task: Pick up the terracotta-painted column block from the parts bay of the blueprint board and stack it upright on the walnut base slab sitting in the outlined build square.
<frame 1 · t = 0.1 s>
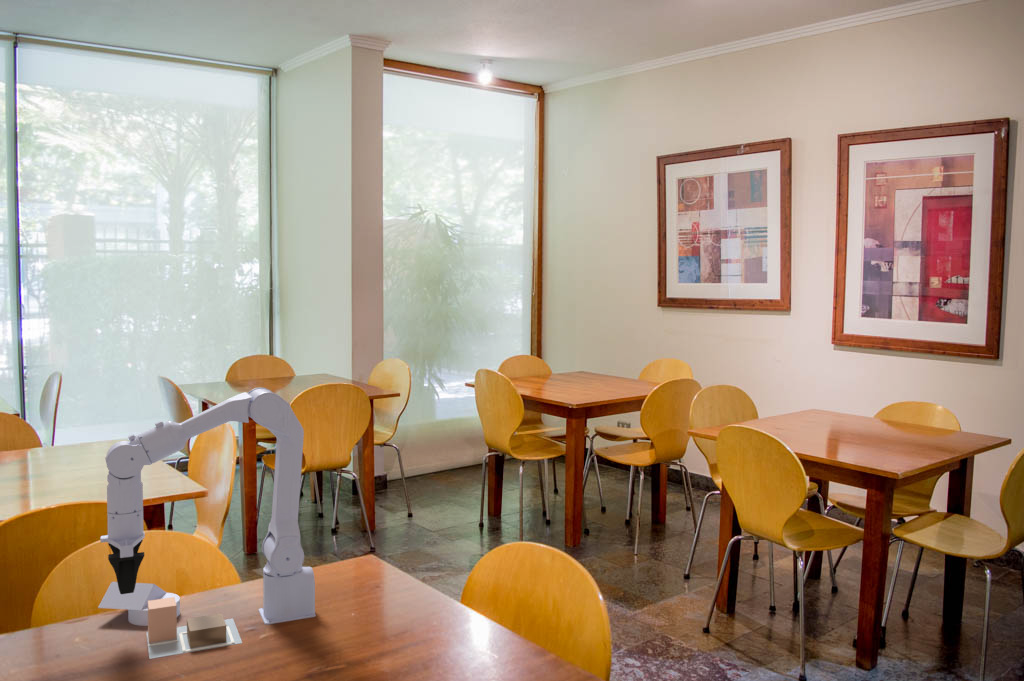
hand: (126, 585, 144), 10 cm above the table, tool pointing down, fingers open, 7 cm apart
column block: (162, 635, 146), resting on blueprint board
wedge on round base: (144, 618, 155), on the table
blueprint board: (193, 639, 145), on the table
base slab: (206, 638, 145), resting on blueprint board
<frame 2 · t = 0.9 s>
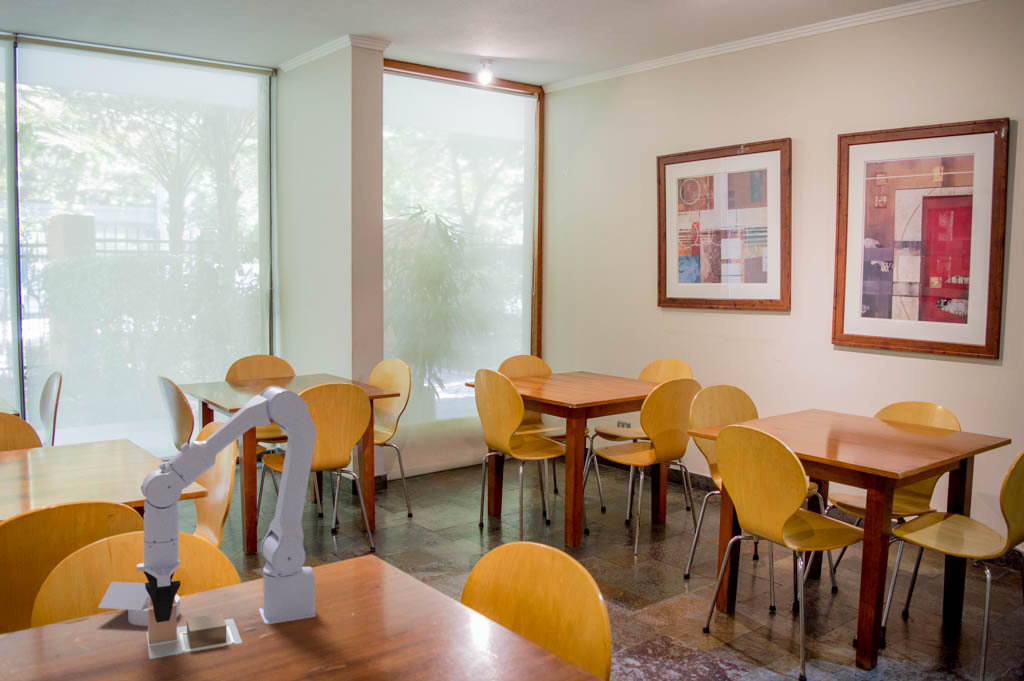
hand: (161, 613, 145), 5 cm above the table, tool pointing down, fingers open, 7 cm apart
nothing on the table moved.
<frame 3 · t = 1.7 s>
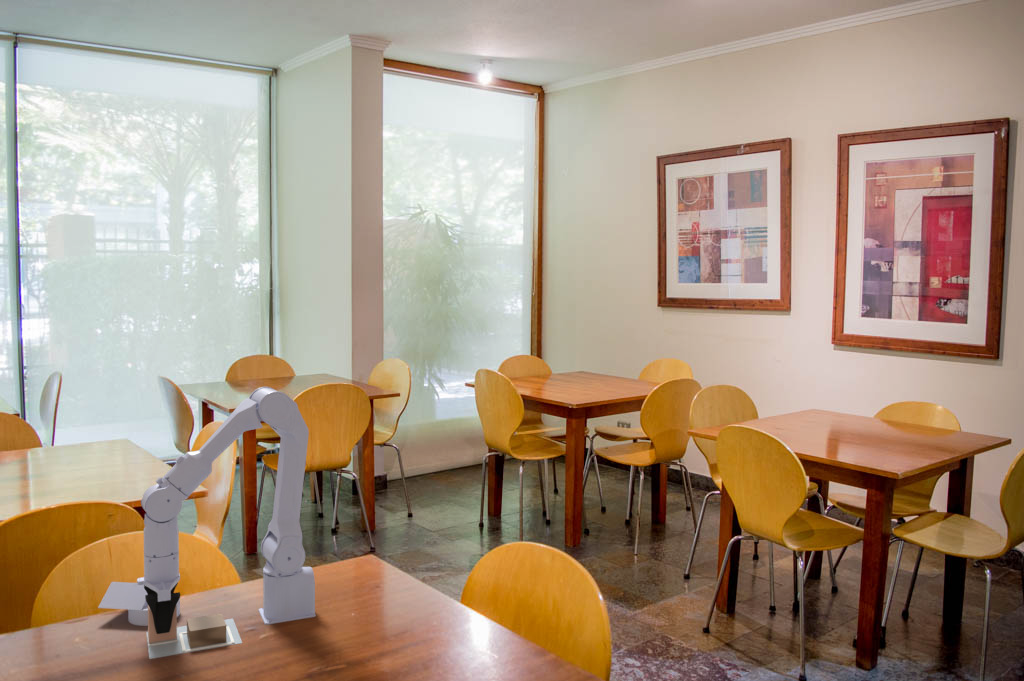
hand: (162, 627, 145), 2 cm above the table, tool pointing down, fingers closed on column block, 4 cm apart
column block: (162, 635, 146), resting on blueprint board, touching gripper
everything else where it was.
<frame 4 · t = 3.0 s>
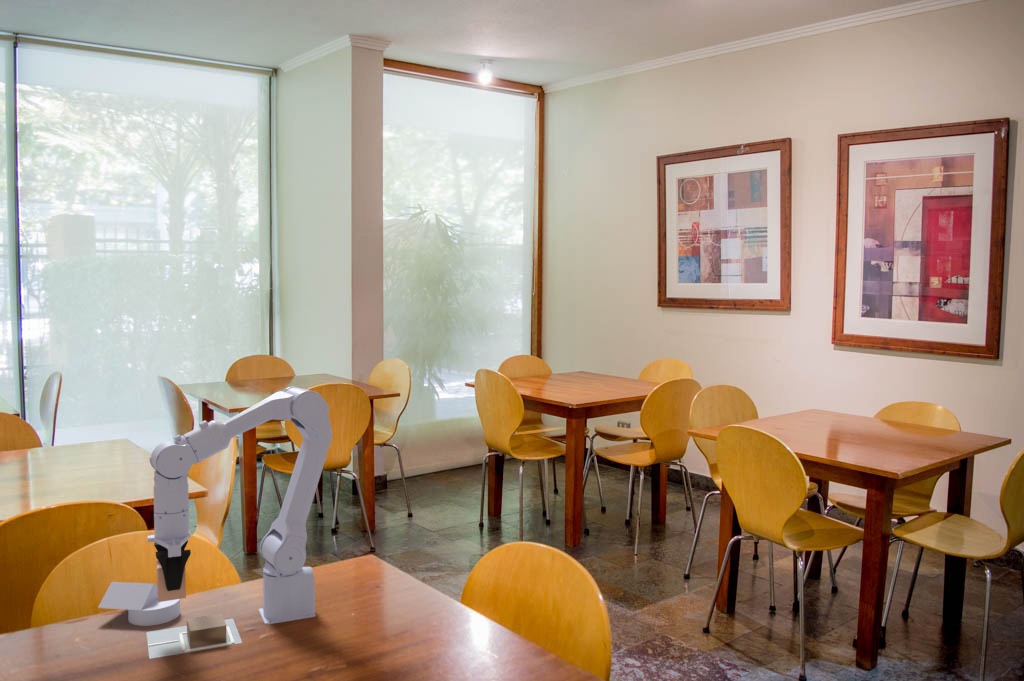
hand: (172, 584, 145), 10 cm above the table, tool pointing down, fingers closed on column block, 4 cm apart
column block: (171, 595, 145), point 8 cm above the table, touching gripper
everything else where it was.
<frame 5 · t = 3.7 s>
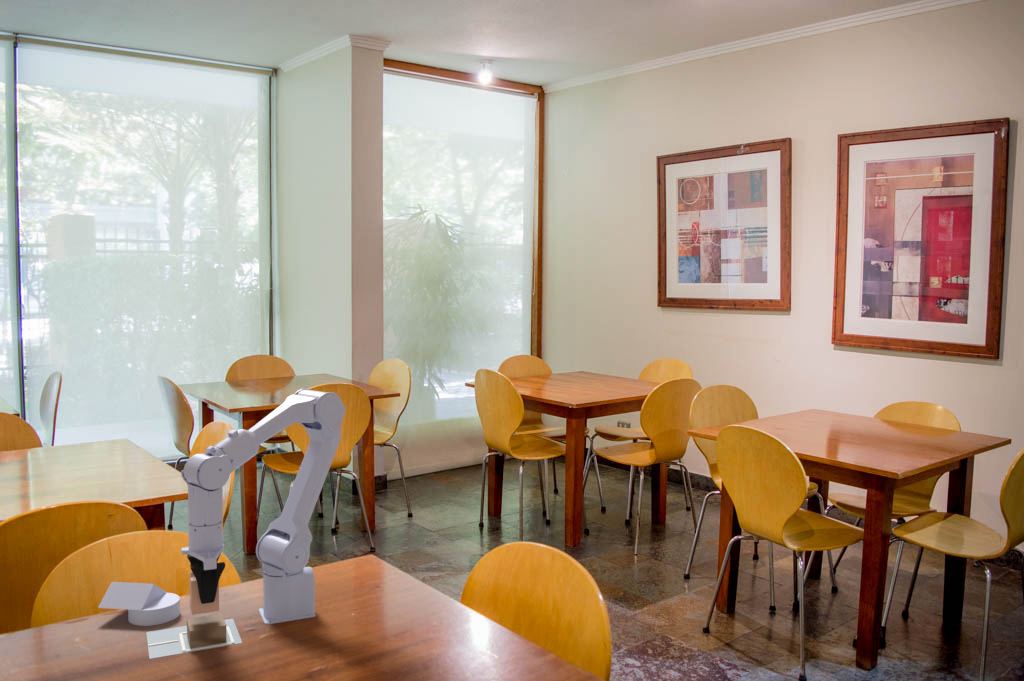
hand: (206, 597, 144), 8 cm above the table, tool pointing down, fingers closed on column block, 4 cm apart
column block: (204, 608, 144), point 6 cm above the table, touching gripper
everything else where it was.
when the fingers open (6 cm above the table, at t = 4.4 s): column block drops 1 cm, resting on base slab.
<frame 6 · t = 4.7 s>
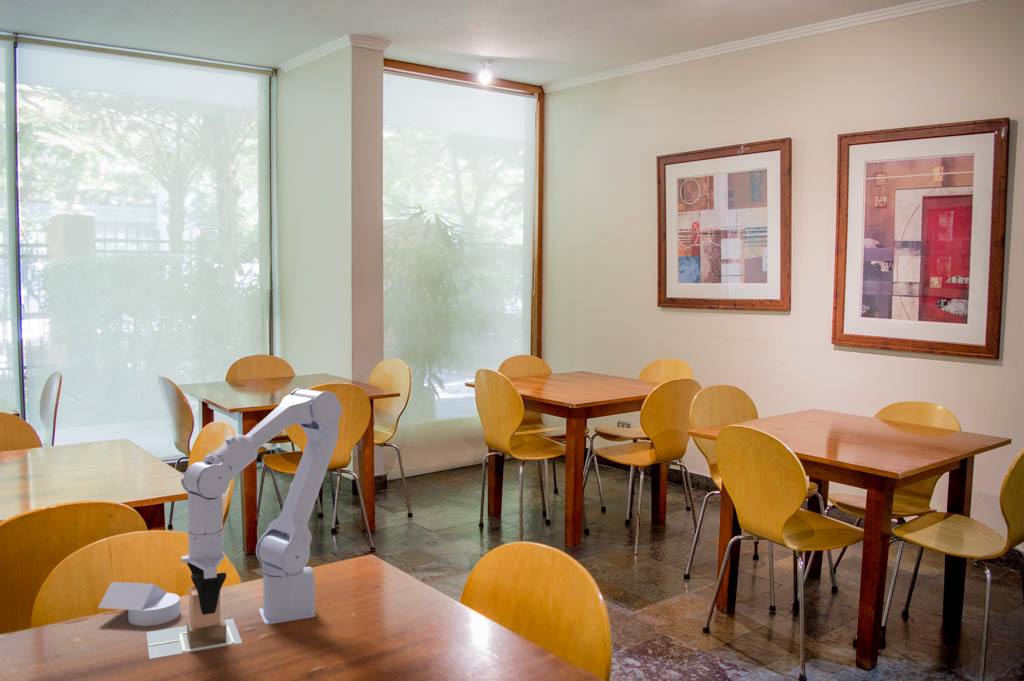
hand: (206, 605, 144), 6 cm above the table, tool pointing down, fingers open, 7 cm apart
column block: (204, 622, 144), point 3 cm above the table, touching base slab
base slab: (206, 638, 145), resting on blueprint board, touching column block
everything else where it was.
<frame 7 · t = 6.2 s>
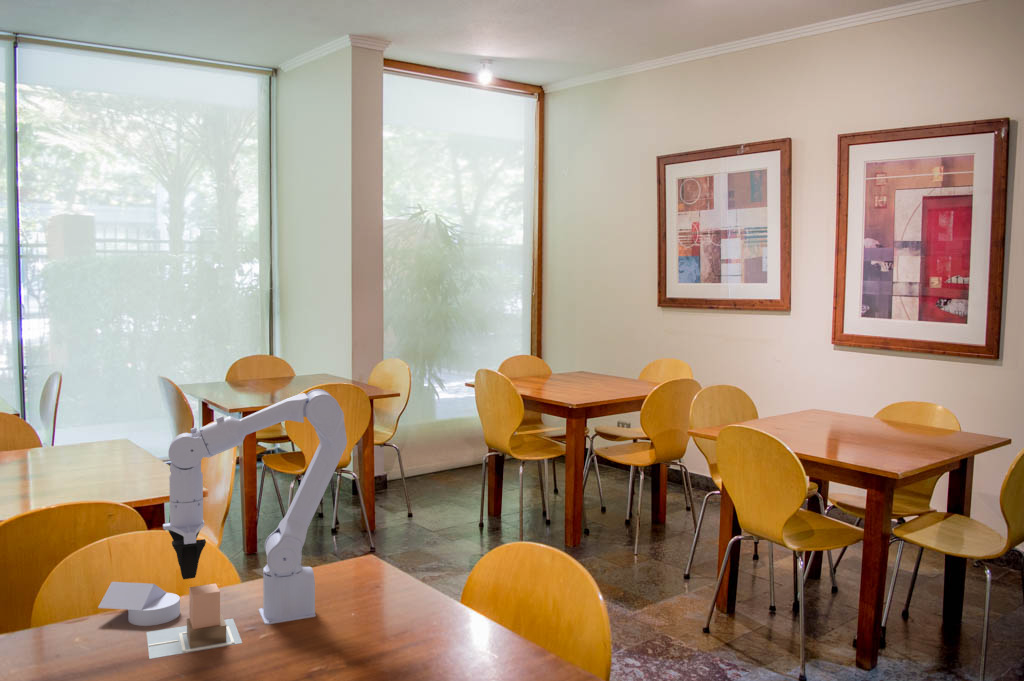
hand: (187, 571, 150), 10 cm above the table, tool pointing down, fingers open, 7 cm apart
nothing on the table moved.
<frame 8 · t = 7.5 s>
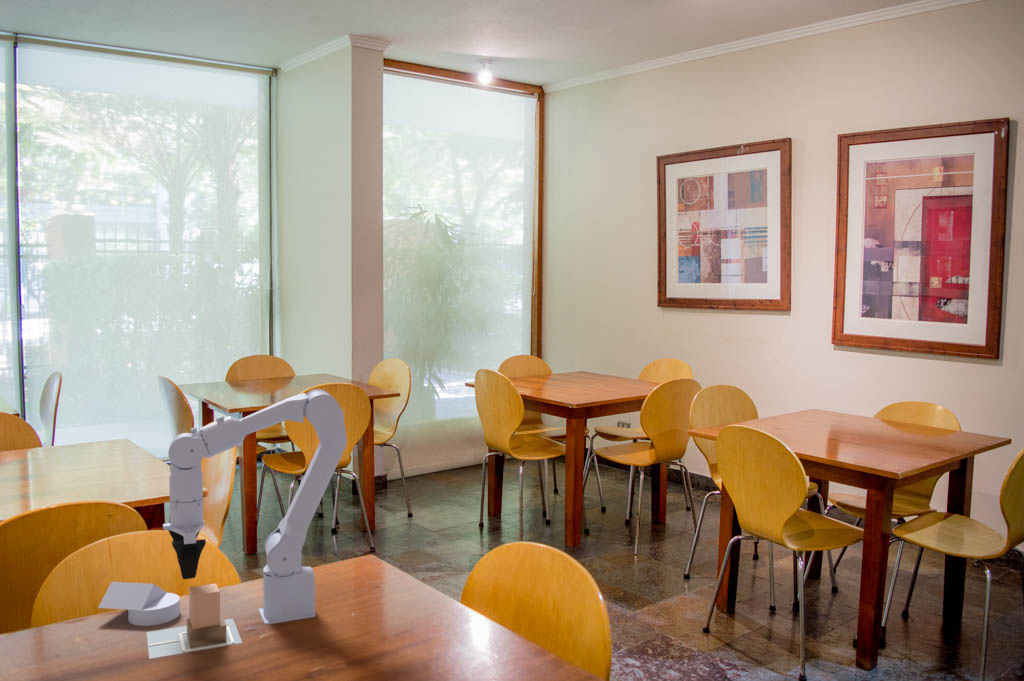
hand: (187, 571, 150), 10 cm above the table, tool pointing down, fingers open, 7 cm apart
nothing on the table moved.
at the end: column block 0.3 cm off-centre on the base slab, point 3.0 cm above the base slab's base; column block tilted 0°; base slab moved 0.0 cm from its start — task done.
